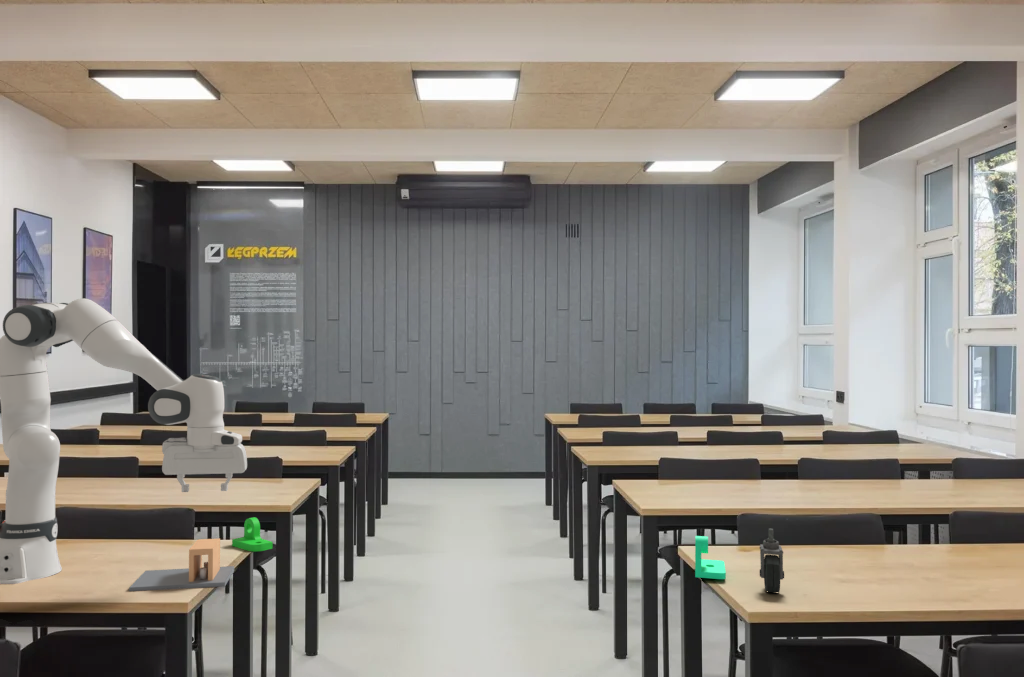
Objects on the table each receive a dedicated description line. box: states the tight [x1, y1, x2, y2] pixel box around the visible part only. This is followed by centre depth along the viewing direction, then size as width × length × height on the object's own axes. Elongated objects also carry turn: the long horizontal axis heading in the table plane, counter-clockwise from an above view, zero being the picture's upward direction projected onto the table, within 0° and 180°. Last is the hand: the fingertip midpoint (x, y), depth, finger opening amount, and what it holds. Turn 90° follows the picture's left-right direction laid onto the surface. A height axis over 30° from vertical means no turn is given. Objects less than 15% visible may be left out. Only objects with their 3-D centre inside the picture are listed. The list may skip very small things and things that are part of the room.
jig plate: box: [128, 561, 235, 592], centre depth 191 cm, size 22×14×4 cm, turn 101°
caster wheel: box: [759, 528, 785, 593], centre depth 185 cm, size 6×10×15 cm, turn 165°
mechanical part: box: [231, 516, 274, 553], centre depth 225 cm, size 12×6×8 cm, turn 51°
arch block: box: [188, 538, 221, 582], centre depth 192 cm, size 6×10×8 cm, turn 11°
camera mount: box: [694, 535, 727, 580], centre depth 199 cm, size 12×8×10 cm, turn 166°
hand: (204, 491), depth 192 cm, fingers open, 8 cm apart
